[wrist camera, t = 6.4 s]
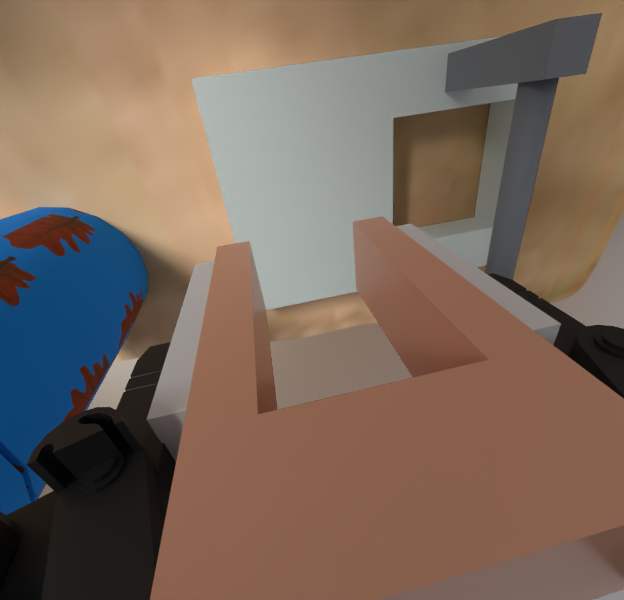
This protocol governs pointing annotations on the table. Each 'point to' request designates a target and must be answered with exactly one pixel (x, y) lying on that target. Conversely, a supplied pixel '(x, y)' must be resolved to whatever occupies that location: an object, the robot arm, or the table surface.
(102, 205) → the table surface
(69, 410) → the thermos
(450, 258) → the robot arm
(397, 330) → the pink notched block
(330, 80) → the slider lever panel
